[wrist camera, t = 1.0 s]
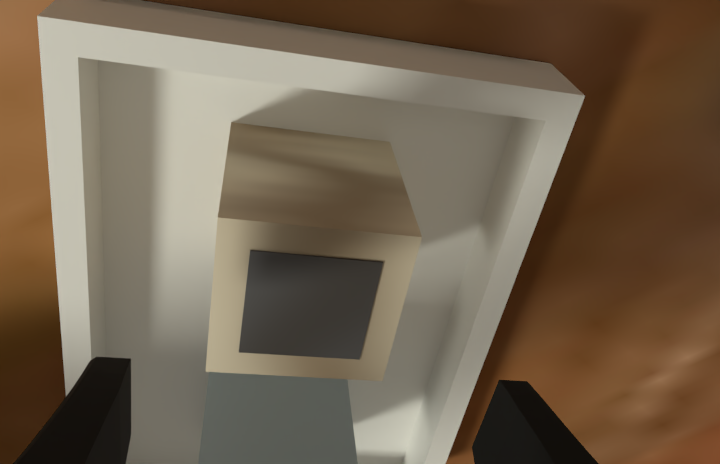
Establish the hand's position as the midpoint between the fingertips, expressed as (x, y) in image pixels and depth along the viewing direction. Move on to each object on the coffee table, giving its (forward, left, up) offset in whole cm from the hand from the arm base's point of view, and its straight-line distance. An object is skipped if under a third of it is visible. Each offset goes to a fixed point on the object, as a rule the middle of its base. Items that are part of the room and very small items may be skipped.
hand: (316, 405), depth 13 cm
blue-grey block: (0, -8, -8) cm, 11 cm away
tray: (0, -4, -9) cm, 10 cm away
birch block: (0, 0, -8) cm, 8 cm away
